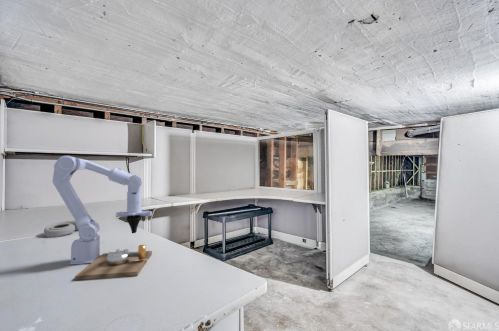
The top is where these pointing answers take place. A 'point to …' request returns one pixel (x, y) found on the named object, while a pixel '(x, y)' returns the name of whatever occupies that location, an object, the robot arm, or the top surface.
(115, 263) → the crank handle wheel
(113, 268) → the plain tan brown board
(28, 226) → the top surface
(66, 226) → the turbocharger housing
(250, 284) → the top surface
